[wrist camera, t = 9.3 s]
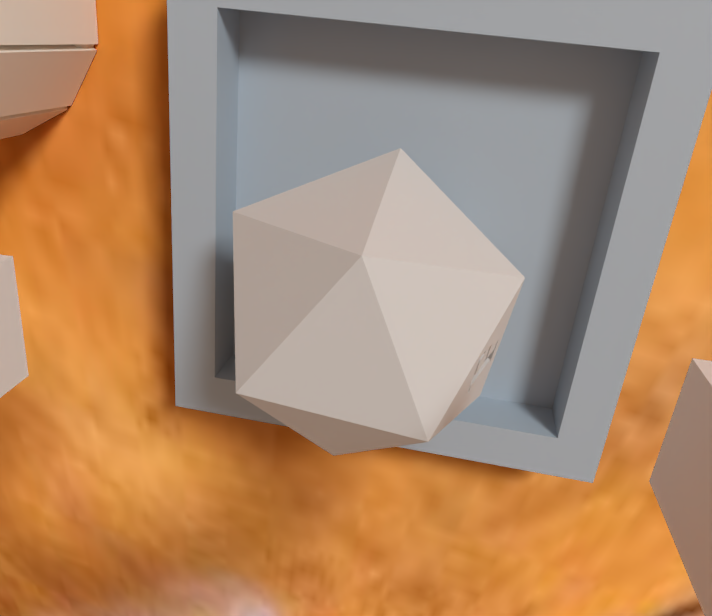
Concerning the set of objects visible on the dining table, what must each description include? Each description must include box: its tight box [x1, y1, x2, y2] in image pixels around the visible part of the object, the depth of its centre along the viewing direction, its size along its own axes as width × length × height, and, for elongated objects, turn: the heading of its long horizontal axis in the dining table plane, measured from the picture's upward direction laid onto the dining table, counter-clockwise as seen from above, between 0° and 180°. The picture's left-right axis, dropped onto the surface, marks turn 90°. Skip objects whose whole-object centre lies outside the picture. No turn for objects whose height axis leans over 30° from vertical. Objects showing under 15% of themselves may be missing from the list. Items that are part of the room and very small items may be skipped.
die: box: [233, 148, 525, 456], centre depth 20 cm, size 8×9×10 cm
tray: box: [167, 0, 712, 483], centre depth 22 cm, size 16×16×3 cm
